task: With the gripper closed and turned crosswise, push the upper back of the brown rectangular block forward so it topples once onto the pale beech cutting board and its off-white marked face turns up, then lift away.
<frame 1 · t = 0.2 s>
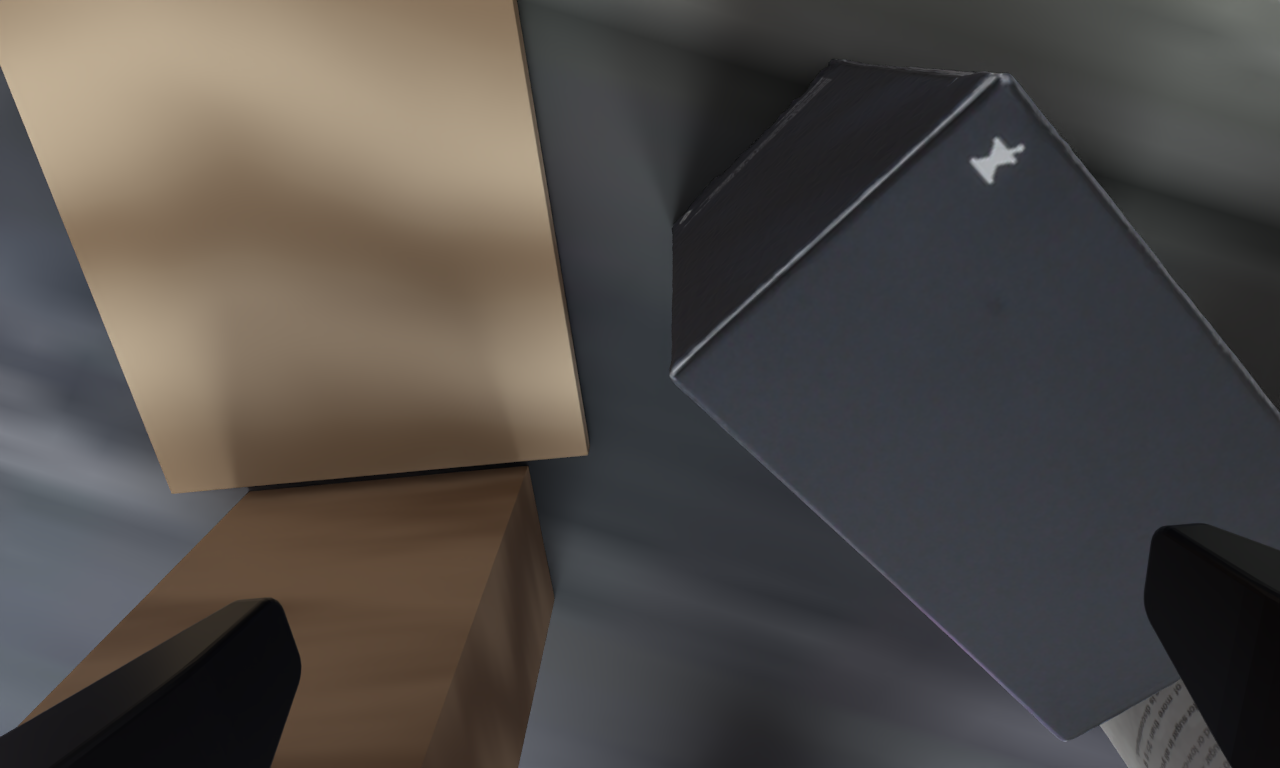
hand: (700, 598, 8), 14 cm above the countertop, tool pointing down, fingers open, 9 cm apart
supplement tub: (1194, 583, 25), on the countertop
small box: (872, 284, 22), on the countertop
brown rectangular block: (405, 546, 25), on the countertop
cutting board: (319, 241, 21), on the countertop
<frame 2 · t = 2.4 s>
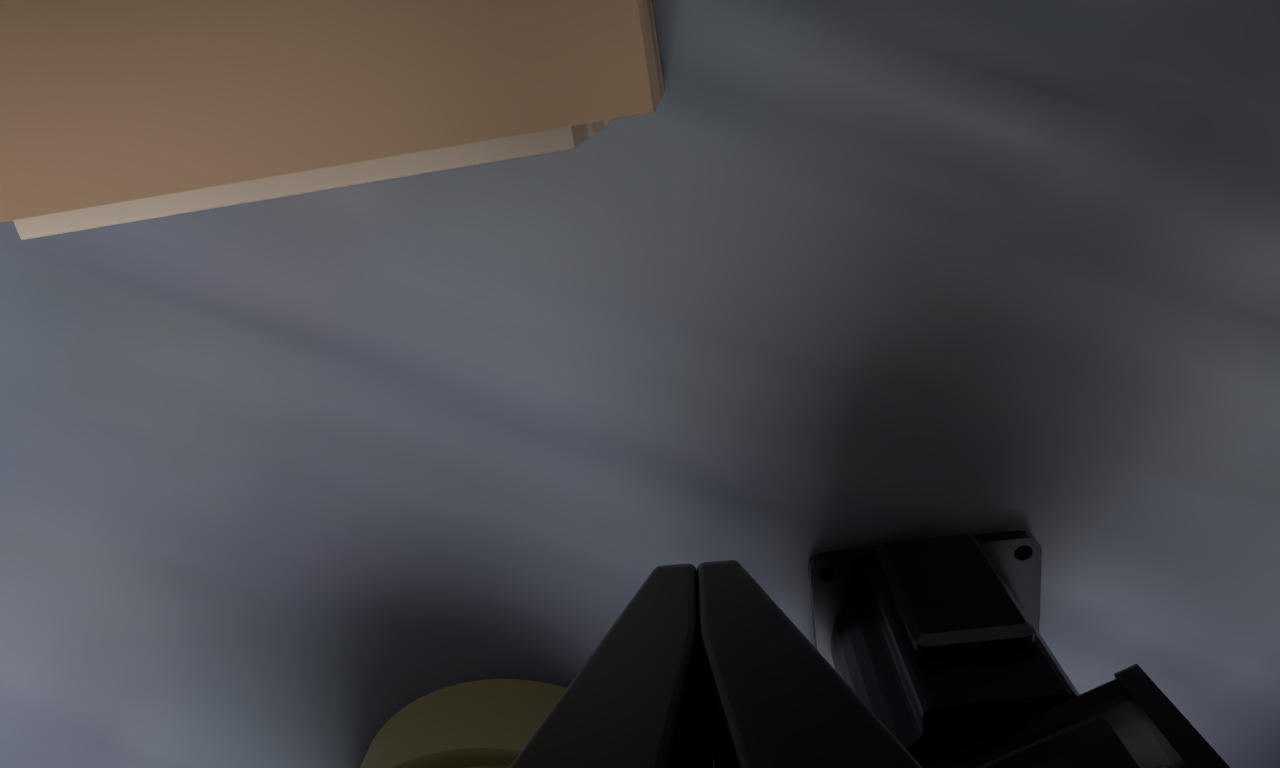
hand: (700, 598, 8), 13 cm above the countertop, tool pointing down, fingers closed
brown rectangular block: (456, 9, 18), on the countertop
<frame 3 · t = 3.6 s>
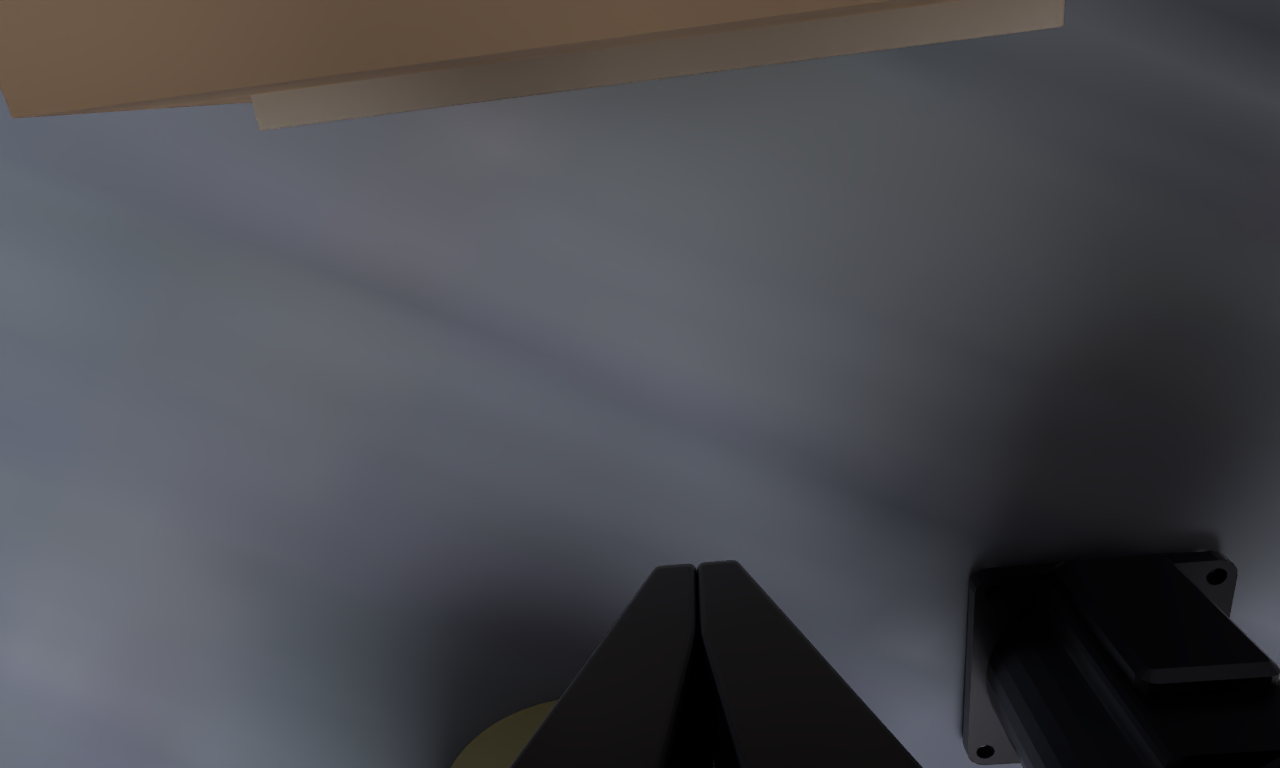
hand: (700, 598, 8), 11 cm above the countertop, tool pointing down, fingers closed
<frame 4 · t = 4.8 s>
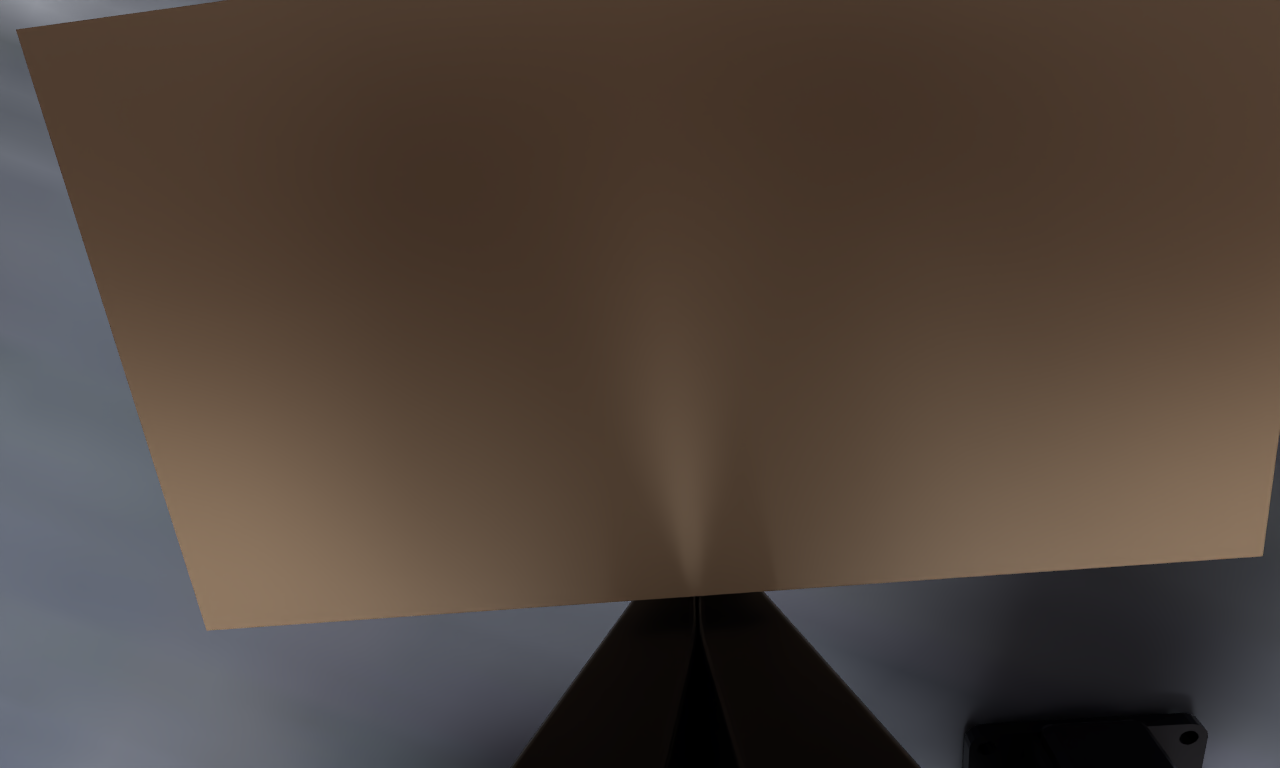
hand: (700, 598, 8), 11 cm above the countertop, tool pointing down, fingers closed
brown rectangular block: (679, 199, 17), on the countertop
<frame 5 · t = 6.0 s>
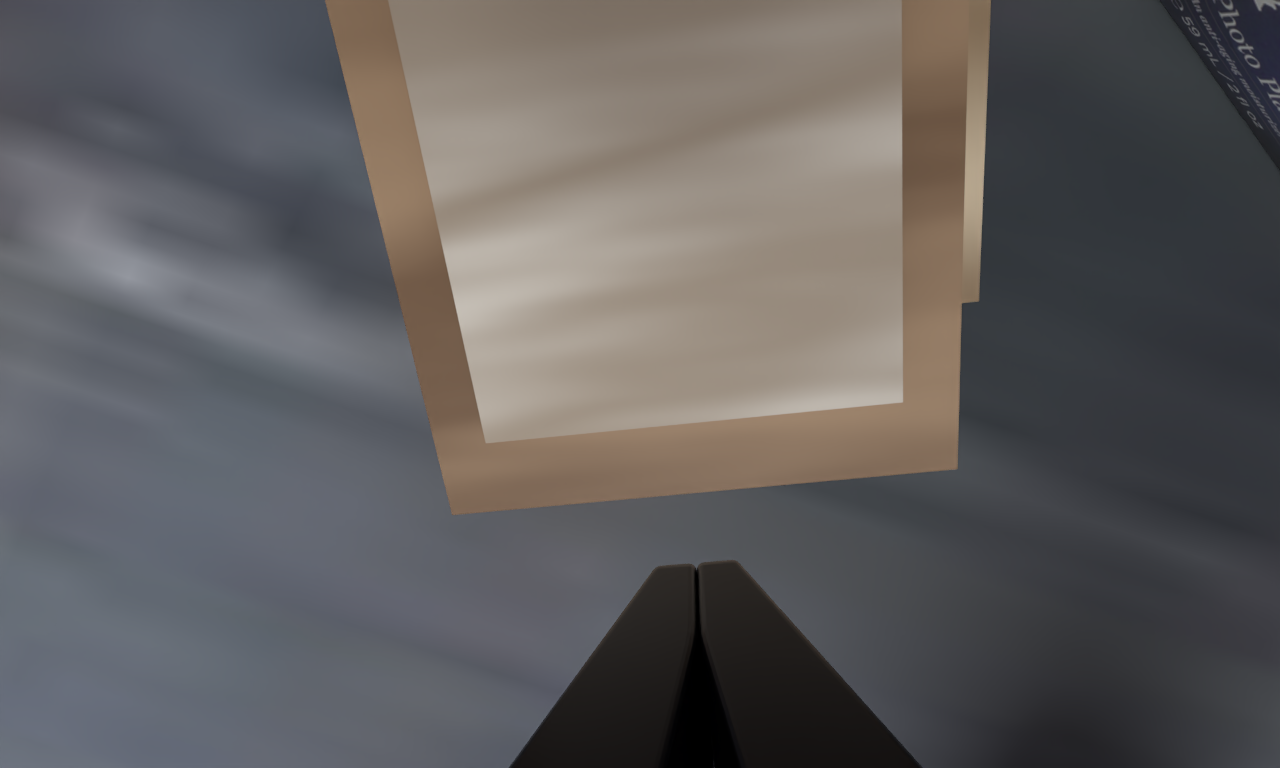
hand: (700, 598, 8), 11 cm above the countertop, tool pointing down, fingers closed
brown rectangular block: (694, 432, 16), point 3 cm above the countertop, tilted 90°, touching cutting board
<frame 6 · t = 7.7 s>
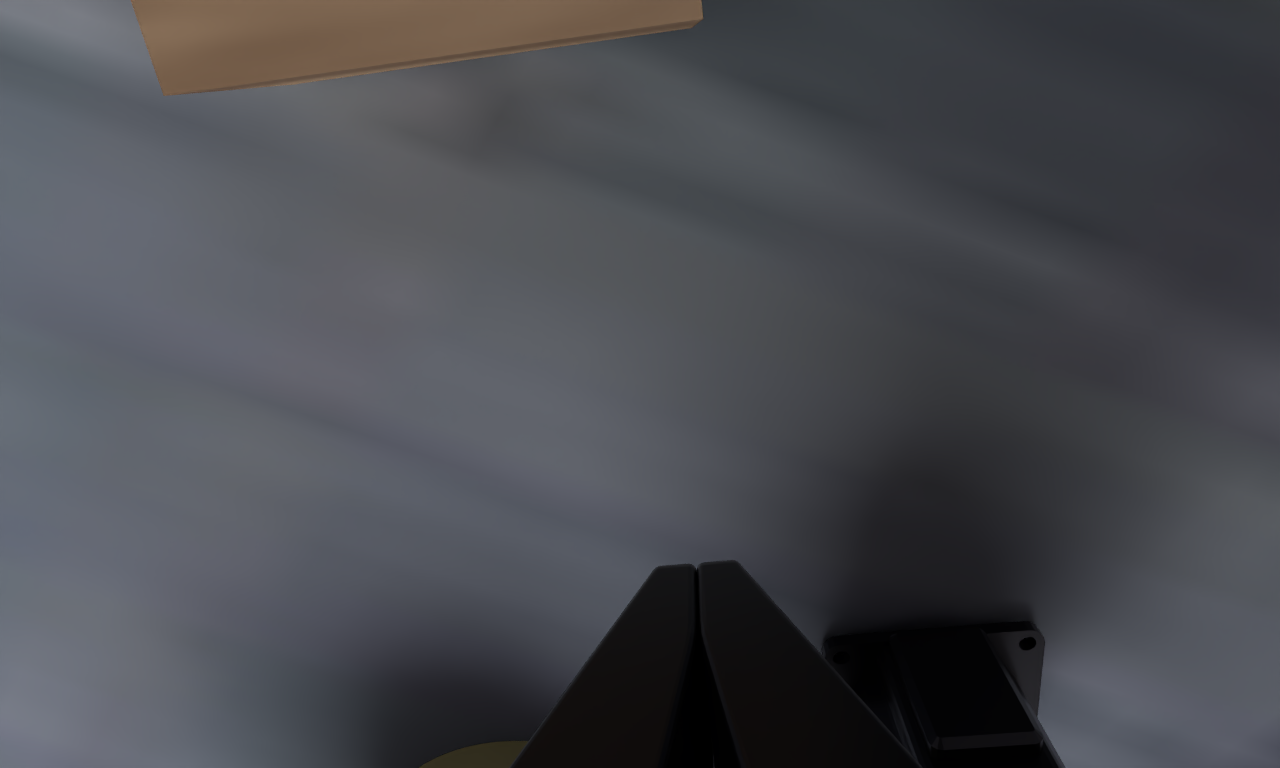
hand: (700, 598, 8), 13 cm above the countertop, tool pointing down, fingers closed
brown rectangular block: (462, 57, 15), point 3 cm above the countertop, tilted 90°, touching cutting board
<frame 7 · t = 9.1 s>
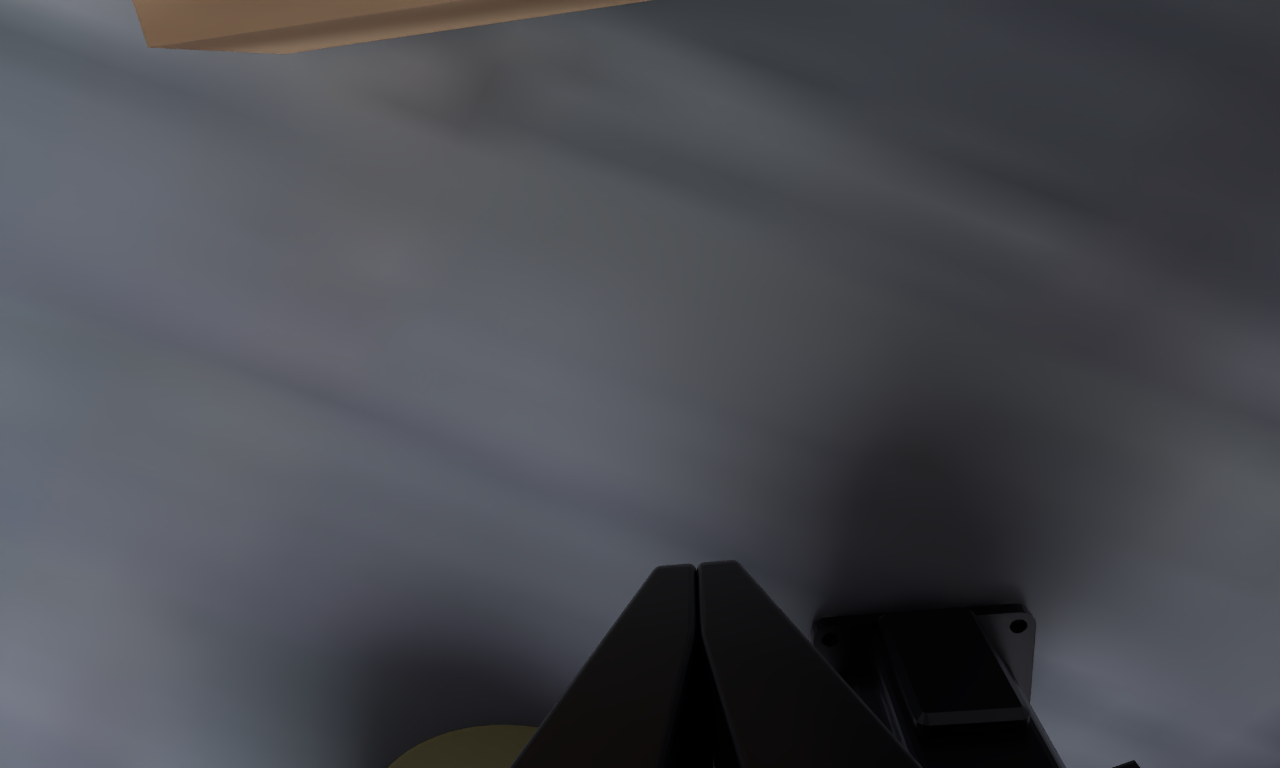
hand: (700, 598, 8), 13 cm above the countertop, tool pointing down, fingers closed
brown rectangular block: (444, 18, 15), point 3 cm above the countertop, tilted 90°, touching cutting board
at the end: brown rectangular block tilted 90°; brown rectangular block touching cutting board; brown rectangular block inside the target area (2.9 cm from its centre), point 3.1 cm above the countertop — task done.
